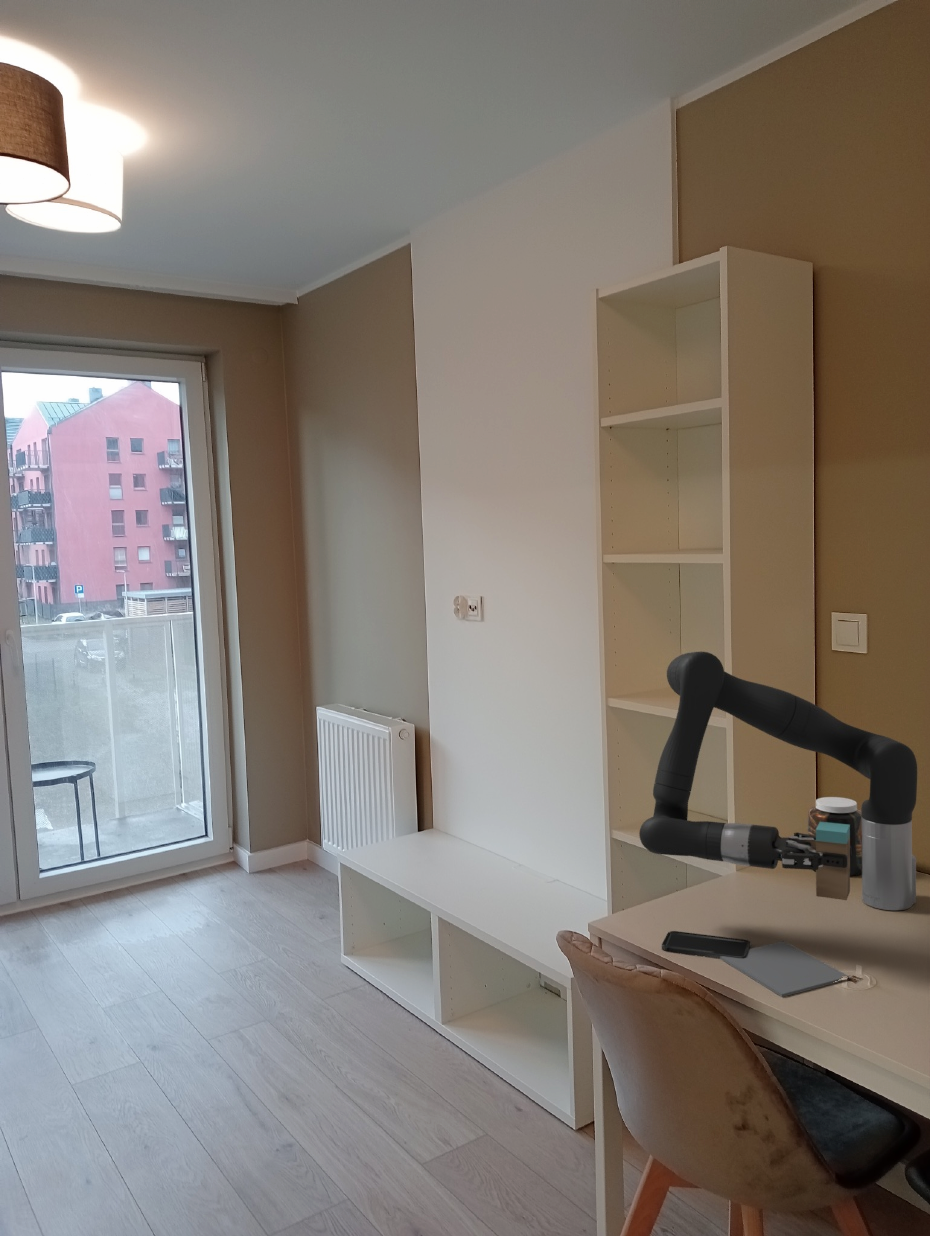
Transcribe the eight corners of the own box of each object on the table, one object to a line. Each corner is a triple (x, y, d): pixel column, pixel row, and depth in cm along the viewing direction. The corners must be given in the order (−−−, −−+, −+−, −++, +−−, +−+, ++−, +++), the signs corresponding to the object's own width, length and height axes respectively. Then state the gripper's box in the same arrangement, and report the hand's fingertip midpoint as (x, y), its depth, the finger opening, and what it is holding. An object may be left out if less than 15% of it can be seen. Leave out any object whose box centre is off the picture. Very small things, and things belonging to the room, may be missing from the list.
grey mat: (783, 943, 175) (783, 941, 175) (849, 979, 160) (849, 976, 160) (720, 958, 170) (720, 956, 170) (782, 997, 155) (781, 994, 155)
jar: (829, 879, 206) (828, 811, 204) (798, 862, 217) (797, 797, 216) (877, 873, 208) (876, 805, 207) (844, 856, 220) (843, 792, 218)
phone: (669, 930, 181) (751, 940, 175) (669, 936, 181) (751, 946, 175) (660, 947, 174) (745, 958, 168) (660, 953, 174) (745, 964, 168)
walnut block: (820, 886, 173) (819, 821, 172) (849, 890, 170) (849, 824, 169) (816, 896, 168) (815, 829, 167) (846, 900, 166) (846, 832, 165)
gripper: (741, 836, 169) (844, 847, 161) (757, 814, 182) (853, 824, 174) (741, 877, 170) (844, 891, 162) (758, 853, 182) (853, 864, 174)
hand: (848, 856), depth 168 cm, fingers closed on walnut block, 5 cm apart
